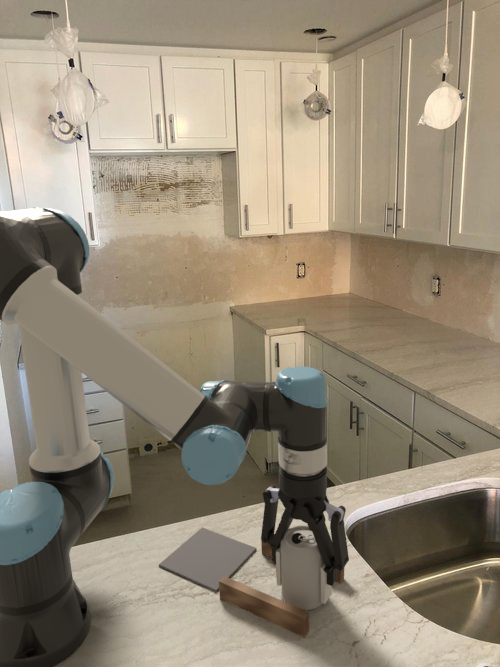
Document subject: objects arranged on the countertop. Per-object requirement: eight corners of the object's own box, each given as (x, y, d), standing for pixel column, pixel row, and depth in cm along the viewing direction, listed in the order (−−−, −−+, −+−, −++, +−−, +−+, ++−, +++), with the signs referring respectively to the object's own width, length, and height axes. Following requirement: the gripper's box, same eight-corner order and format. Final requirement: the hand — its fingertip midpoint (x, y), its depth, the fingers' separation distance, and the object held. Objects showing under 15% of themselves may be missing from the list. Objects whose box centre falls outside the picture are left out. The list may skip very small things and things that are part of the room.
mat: (159, 566, 100) (158, 564, 100) (202, 529, 111) (202, 527, 110) (216, 591, 93) (216, 590, 93) (256, 549, 104) (256, 547, 104)
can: (285, 579, 96) (283, 519, 92) (328, 584, 94) (328, 523, 91) (278, 611, 89) (276, 547, 85) (324, 617, 87) (324, 552, 84)
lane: (219, 598, 92) (218, 581, 91) (265, 549, 104) (265, 533, 103) (304, 637, 83) (304, 618, 82) (344, 578, 95) (344, 561, 94)
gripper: (235, 460, 87) (240, 581, 93) (354, 494, 77) (352, 628, 82) (259, 441, 93) (263, 556, 99) (373, 471, 83) (370, 597, 88)
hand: (303, 589), depth 91 cm, fingers closed on can, 7 cm apart
